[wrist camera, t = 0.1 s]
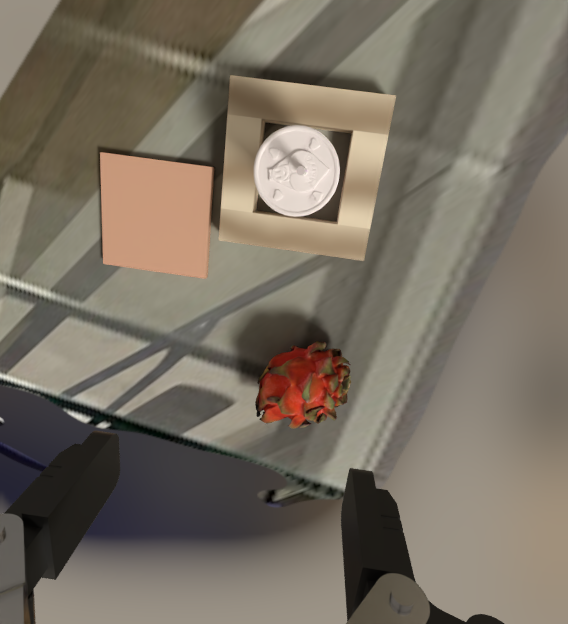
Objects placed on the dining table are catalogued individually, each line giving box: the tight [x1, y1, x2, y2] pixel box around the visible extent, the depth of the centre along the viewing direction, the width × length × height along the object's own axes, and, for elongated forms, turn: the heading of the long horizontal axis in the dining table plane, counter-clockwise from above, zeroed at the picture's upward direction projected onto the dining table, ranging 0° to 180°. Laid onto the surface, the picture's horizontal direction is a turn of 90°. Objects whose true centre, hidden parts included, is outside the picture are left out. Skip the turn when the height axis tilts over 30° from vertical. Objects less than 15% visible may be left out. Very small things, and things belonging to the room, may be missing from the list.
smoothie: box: [254, 125, 340, 217], centre depth 31 cm, size 6×6×14 cm
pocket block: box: [219, 75, 396, 261], centre depth 37 cm, size 14×14×2 cm
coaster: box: [100, 152, 214, 279], centre depth 40 cm, size 11×11×1 cm
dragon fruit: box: [255, 341, 351, 428], centre depth 41 cm, size 8×8×12 cm
